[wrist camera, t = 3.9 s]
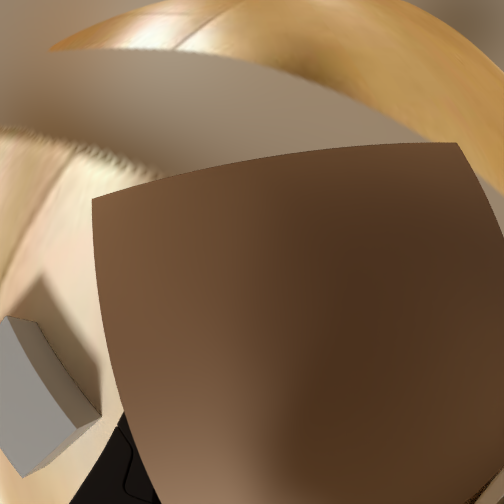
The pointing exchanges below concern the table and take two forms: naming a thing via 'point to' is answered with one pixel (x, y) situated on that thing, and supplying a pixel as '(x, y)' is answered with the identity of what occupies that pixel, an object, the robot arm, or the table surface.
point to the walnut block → (309, 327)
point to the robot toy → (493, 490)
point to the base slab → (36, 399)
